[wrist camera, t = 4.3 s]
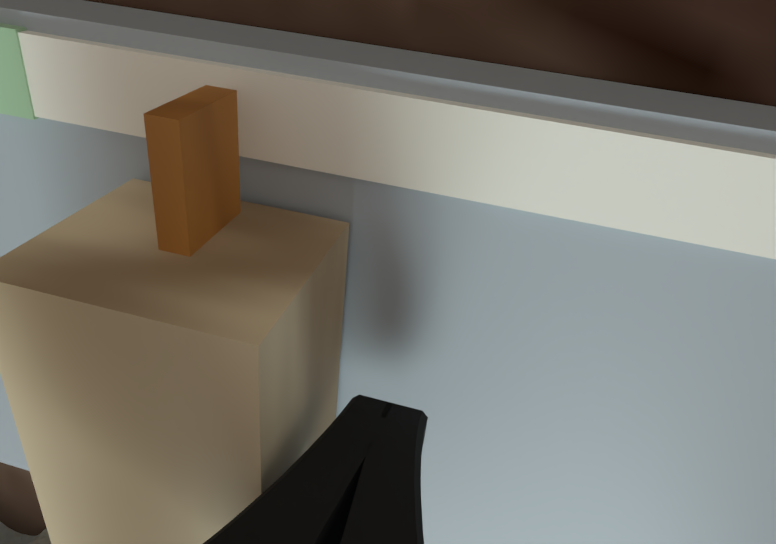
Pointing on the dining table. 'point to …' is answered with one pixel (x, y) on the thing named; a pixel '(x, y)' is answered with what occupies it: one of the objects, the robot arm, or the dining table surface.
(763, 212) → the gauge bed
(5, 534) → the egg carton
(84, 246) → the beige block with peg
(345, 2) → the dining table surface
